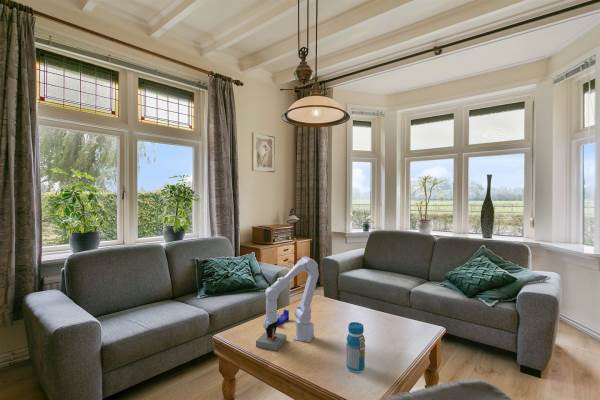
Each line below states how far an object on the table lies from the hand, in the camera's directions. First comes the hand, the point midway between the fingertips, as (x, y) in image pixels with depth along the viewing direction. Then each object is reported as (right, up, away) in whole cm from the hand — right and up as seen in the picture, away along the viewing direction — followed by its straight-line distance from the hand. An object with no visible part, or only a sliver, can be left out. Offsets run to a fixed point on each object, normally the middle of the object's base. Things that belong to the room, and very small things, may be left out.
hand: (271, 336), depth 164 cm
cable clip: (+3, -4, +26) cm, 27 cm away
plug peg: (0, -2, 0) cm, 2 cm away
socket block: (0, -4, 0) cm, 4 cm away
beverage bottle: (+40, -5, -22) cm, 46 cm away
